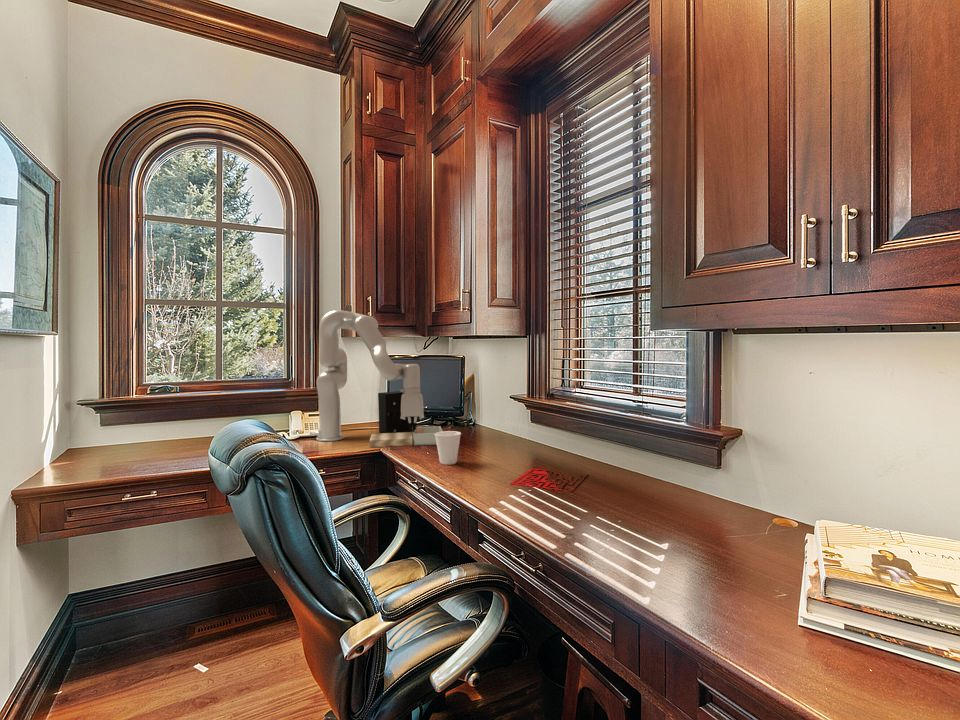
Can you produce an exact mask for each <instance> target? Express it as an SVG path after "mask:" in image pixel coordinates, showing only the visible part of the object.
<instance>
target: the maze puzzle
mask: <svg viewBox="0 0 960 720" xmlns="http://www.w3.org/2000/svg"><path fill="white" fill-rule="evenodd" d="M532 470H533V471H532ZM537 470H543V471H537ZM545 470H546V469H542V468H530V469H529V470H527V471H526V472H525V473H523V474H522V475H520V476H519V477H517V478H515V480H513V481H512V482H510V483H509V485H510V486H511V485H512V486H518V487H519V486H520V487H526V486H527V487H529V488H534V487H537V488H536V489H539V488H541V489H542V488H546V489H545V490H550V489H555V490H554V491H558V490H562V489H558V487H557V488H550V487H556V484H554V485H555V486H554V485H553V484H550V483H553V482H549V481H551V479H550V480H549V481H548V478H547V477H548V476H549V475H548V474H547V472H546V471H545ZM529 472H530V473H529ZM528 473H529V474H528ZM531 473H533V474H531ZM537 474H542V475H537ZM525 475H526V476H525ZM532 475H537V476H532ZM546 475H548V476H546ZM542 476H543V477H542ZM534 477H536V478H534ZM541 477H542V478H541ZM549 477H550V476H549ZM527 478H528V479H527ZM540 478H541V479H540ZM546 478H547V479H546ZM530 479H533V480H530ZM545 479H546V480H545ZM531 481H536V482H531ZM546 481H547V482H546ZM552 481H554V479H552ZM525 482H526V483H525ZM539 482H544V484H543V483H539ZM532 483H536V484H532ZM525 484H527V485H525ZM542 484H543V485H542ZM549 484H550V485H549ZM533 485H535V486H533ZM541 485H542V486H541ZM552 485H553V486H552ZM546 486H547V487H546ZM568 490H569V491H570V489H568ZM572 491H573V490H572ZM564 492H566V489H565V491H564ZM573 492H574V491H573Z"/></svg>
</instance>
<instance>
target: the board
mask: <svg viewBox="0 0 960 720" xmlns="http://www.w3.org/2000/svg"><path fill="white" fill-rule="evenodd" d="M403 446H409V447H410V446H414V444H413V437H412V432H402V433H379V432H378V433H371V435H370V438H369V448H383V447H385V448H386V447H403Z"/></svg>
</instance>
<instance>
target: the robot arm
mask: <svg viewBox="0 0 960 720" xmlns="http://www.w3.org/2000/svg"><path fill="white" fill-rule="evenodd" d="M319 321H320V322H319V326H318V327H319V329H318V331H319V332H318V333H319V335H318V336H319V343H318V345H319V346H318V347H319V352H318V353H319V354H318V355H319V356H318V357H319V358H318V360H319V361H318V362H319V364H320V365H321V366H322V367H324V368H327V370H325V371H323V372H321V373H320V374H319V375H317V378H316V383H315V384H316V389H317V390H316V391H317V398H318V412H319V413H318V417H319V420H318V422H319V423H318V424H319V429H317V430H310V431H309V436H316V440H317V441H319V442H335V441H340V440H344V439H345V435H344V434H343V433H342V424H341V421H342V419H341V397H340V393H339V390H340V389H342V388H344V387H345V386H346V384H347V381H348V356H347V354H346V351H345V350H344V349H343V348H342V347H340V345H339V343H340V341H339V334H338V330H349V331H353V332H356V333H357V335H358V337H360V339H361V340H362V342H363V343H364V344H365V346H366V348H367V349H368V350H369V353H370V356H371V358H372V359H371V360H372V361H373V363H374V365H375V368H376V369H377V370H378V371H379V374H380V375H381V376H382V377H383V378H384V380H386V381H388V382H394V381H398V380H403V381H402V385H403V386H402V387H403V388H400V389H399V391H400V392H403V394H402V397H401V417H400V418H401V419H404V420H406V421H408V422H409V430H411V433H412V432H415V431H414V430H416V422H418V421H419V420H422V419H424V418H425V415H424V398H423V394H422V393H421V373H420V372H421V371H420V370H421V369H420V365H419V364H418V363H397V362H396V363H394V361H392V359H391V357H390V356H389V354H388V351H387V342H386V339H385V338H384V336H383V335H382V333H381V332H380V331H379V329H378V328H379V322H378V321H377V319H376V318H375V317H373V316H371V315H365V314H362V313H357V312H354V311H353V312H352V311H349V310H348V311H347V310H342V309H335V310H334V309H333V310H331V311H328V312H327V313H325V314H324V315H323V316H322V317H321V319H320V320H319ZM410 417H414V421H413V429H412V421H411V418H410Z"/></svg>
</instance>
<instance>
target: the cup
mask: <svg viewBox="0 0 960 720" xmlns="http://www.w3.org/2000/svg"><path fill="white" fill-rule="evenodd" d="M434 435H435V438H436V443H437V445H436V448H437V453H438V460H439V463H440V464H441V465H444V466H445V465H446V466H448V465H449V466H450V465H455V464H456V463H457V462H458V454H459V448H460V441H461V435H462V433H461V431H456V430H455V431H454V430H443V431H441V432H437V433H435V434H434Z"/></svg>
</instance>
